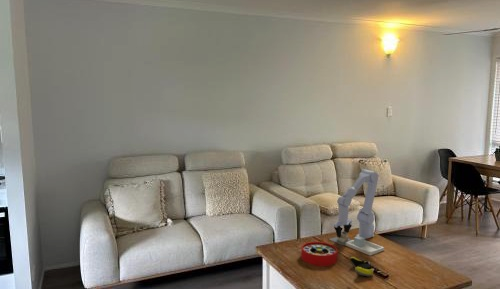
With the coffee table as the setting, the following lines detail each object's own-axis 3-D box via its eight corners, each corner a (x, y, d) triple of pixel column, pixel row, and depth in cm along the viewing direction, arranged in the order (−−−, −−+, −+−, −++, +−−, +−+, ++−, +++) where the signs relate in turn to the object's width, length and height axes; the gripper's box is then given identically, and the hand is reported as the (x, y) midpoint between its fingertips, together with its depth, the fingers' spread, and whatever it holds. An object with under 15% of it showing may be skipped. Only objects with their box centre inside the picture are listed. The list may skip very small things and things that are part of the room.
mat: (341, 236, 246) (341, 235, 246) (355, 242, 236) (356, 241, 236) (328, 240, 239) (328, 239, 239) (343, 246, 229) (343, 245, 229)
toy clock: (320, 259, 198) (294, 246, 214) (319, 269, 198) (293, 256, 214) (345, 250, 209) (318, 239, 225) (344, 260, 210) (318, 248, 226)
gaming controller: (355, 278, 189) (375, 279, 188) (356, 268, 188) (376, 268, 187) (348, 265, 203) (367, 266, 203) (349, 255, 203) (368, 256, 202)
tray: (345, 246, 229) (345, 242, 229) (359, 241, 237) (359, 237, 237) (370, 256, 215) (370, 252, 215) (383, 251, 222) (384, 247, 222)
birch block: (342, 238, 240) (342, 230, 239) (347, 240, 236) (348, 232, 236) (337, 239, 237) (337, 232, 237) (343, 242, 234) (343, 234, 233)
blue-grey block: (358, 243, 232) (358, 235, 232) (364, 246, 229) (364, 238, 228) (353, 245, 230) (354, 237, 229) (359, 247, 226) (360, 239, 225)
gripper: (340, 219, 228) (339, 240, 229) (355, 215, 236) (354, 235, 238) (331, 216, 233) (330, 237, 235) (347, 212, 242) (346, 232, 244)
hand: (342, 236), depth 237 cm, fingers open, 6 cm apart
